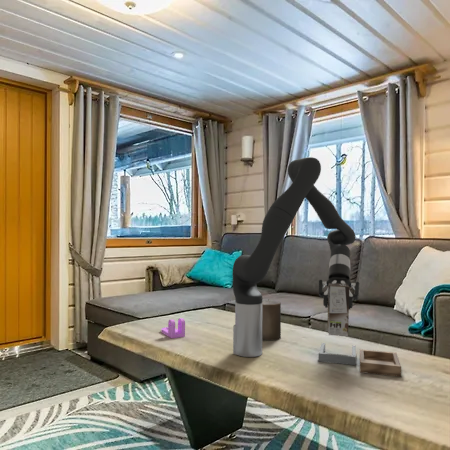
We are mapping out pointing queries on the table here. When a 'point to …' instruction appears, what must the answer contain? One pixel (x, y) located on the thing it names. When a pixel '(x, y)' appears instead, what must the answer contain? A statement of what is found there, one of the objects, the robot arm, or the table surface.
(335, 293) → the coffee box
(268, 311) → the pillar candle
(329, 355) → the bay
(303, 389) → the table surface
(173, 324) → the bracket
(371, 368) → the tray
